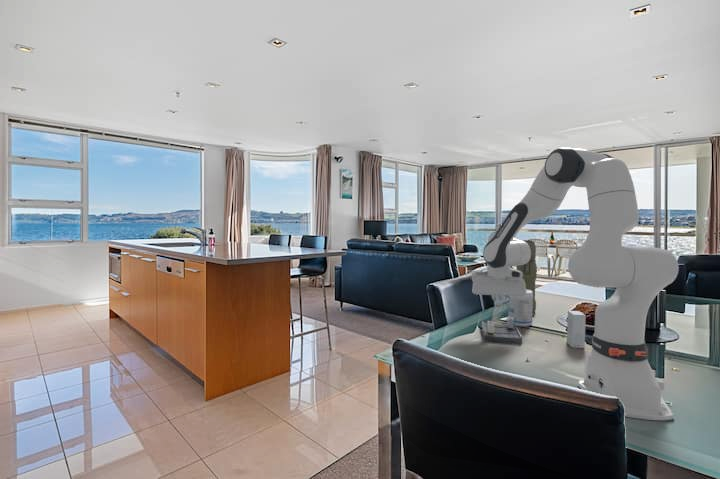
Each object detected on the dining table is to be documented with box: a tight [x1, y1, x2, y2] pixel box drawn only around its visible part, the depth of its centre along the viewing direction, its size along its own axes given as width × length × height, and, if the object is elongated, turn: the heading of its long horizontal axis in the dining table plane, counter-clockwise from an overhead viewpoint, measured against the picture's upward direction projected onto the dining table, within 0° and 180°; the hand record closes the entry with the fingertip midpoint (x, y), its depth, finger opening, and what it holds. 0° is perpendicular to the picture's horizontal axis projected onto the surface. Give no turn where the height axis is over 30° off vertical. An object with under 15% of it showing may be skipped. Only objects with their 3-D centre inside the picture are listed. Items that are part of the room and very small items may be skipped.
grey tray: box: [481, 320, 523, 345], centre depth 149 cm, size 18×13×3 cm
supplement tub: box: [507, 289, 533, 328], centre depth 163 cm, size 10×10×15 cm
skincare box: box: [566, 310, 587, 349], centre depth 137 cm, size 6×4×12 cm
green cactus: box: [515, 239, 538, 317], centre depth 180 cm, size 9×12×35 cm
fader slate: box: [506, 316, 514, 328], centre depth 151 cm, size 4×2×4 cm, turn 166°
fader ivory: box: [487, 320, 494, 333], centre depth 146 cm, size 4×2×4 cm, turn 166°
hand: (498, 306), depth 151 cm, fingers closed
